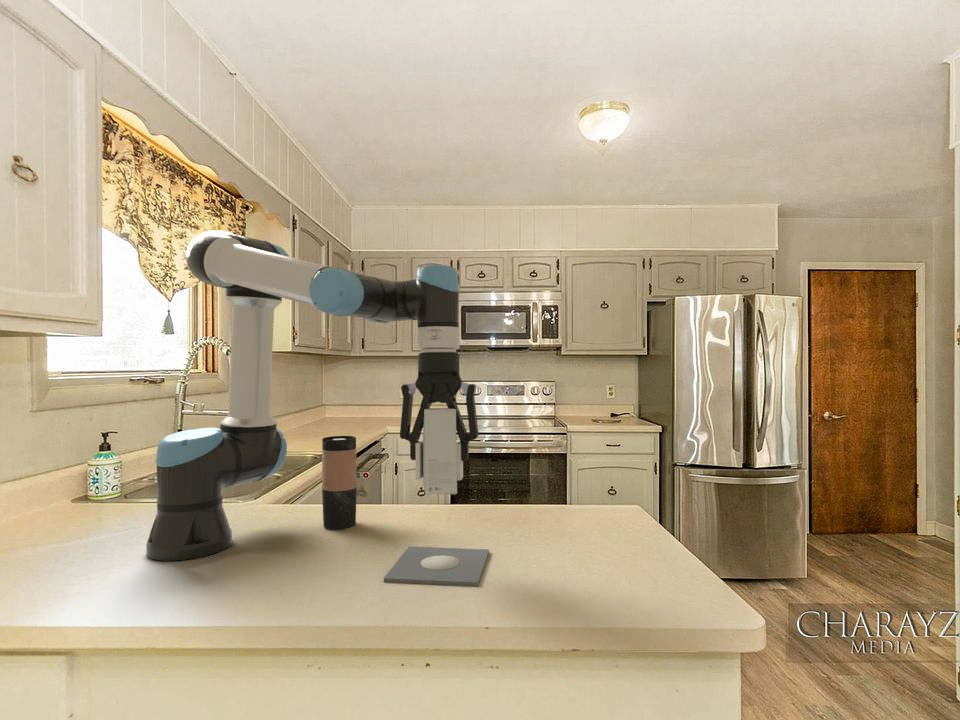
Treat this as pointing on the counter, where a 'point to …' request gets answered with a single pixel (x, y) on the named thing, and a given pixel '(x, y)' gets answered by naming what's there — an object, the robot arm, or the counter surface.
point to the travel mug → (339, 482)
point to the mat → (439, 566)
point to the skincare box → (439, 451)
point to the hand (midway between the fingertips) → (439, 478)
